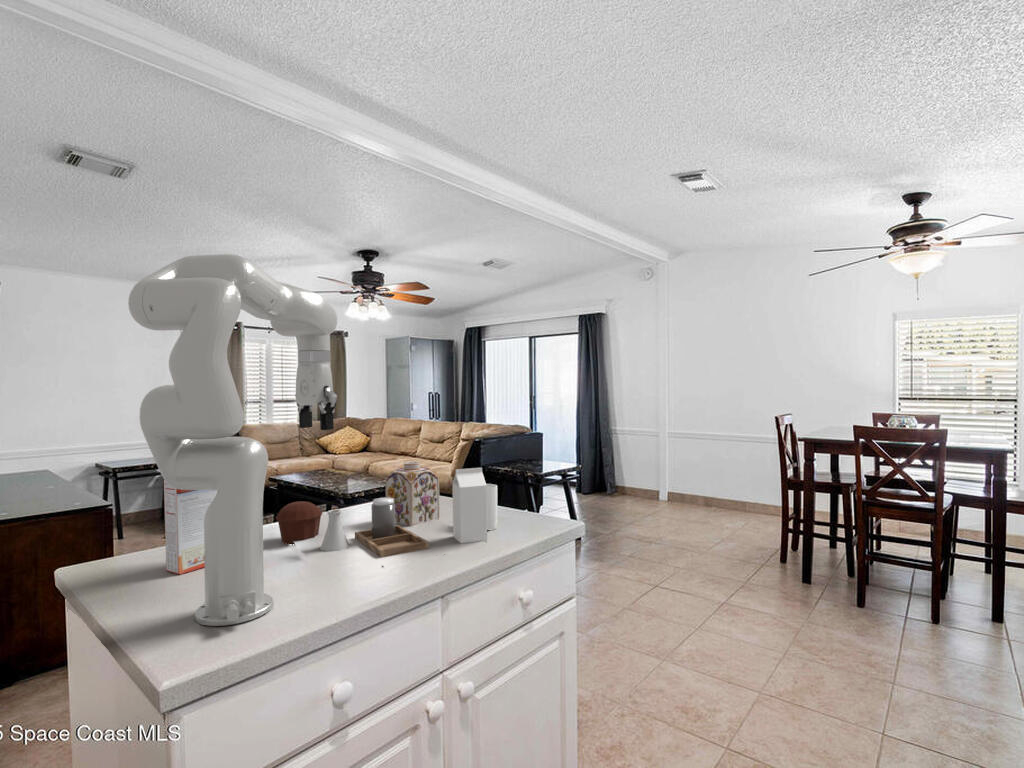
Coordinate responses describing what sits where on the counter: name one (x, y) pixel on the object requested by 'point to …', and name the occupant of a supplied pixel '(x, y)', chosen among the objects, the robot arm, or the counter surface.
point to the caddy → (392, 542)
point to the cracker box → (185, 527)
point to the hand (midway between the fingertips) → (316, 428)
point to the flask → (334, 533)
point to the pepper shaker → (383, 518)
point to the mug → (491, 506)
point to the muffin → (298, 521)
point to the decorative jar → (414, 494)
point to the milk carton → (469, 505)
